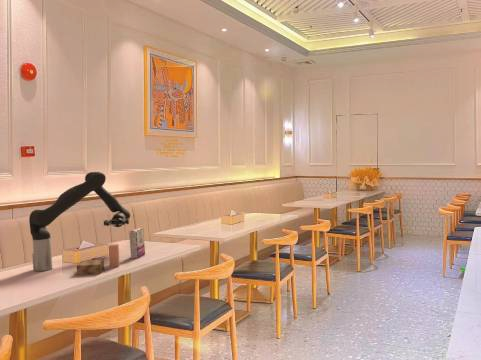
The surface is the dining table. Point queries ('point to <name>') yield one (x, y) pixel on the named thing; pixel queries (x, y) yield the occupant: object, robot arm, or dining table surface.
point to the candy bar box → (137, 243)
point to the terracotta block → (114, 255)
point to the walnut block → (90, 267)
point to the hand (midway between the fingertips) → (115, 223)
